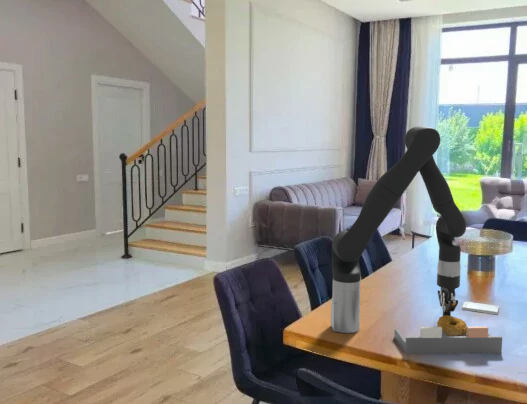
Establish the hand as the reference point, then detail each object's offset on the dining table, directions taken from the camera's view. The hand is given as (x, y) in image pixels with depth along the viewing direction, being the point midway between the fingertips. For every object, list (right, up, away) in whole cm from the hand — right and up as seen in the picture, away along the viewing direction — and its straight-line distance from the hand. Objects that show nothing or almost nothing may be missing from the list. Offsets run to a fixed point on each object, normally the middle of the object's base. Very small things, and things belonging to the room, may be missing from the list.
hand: (446, 321), depth 182 cm
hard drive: (+19, 0, +17) cm, 25 cm away
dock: (-7, -3, -18) cm, 20 cm away
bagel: (-1, -2, -7) cm, 7 cm away
